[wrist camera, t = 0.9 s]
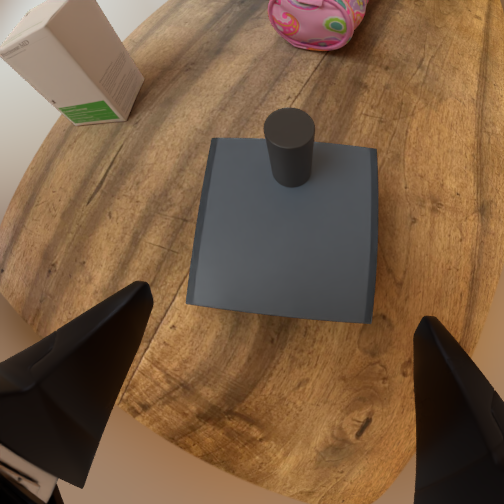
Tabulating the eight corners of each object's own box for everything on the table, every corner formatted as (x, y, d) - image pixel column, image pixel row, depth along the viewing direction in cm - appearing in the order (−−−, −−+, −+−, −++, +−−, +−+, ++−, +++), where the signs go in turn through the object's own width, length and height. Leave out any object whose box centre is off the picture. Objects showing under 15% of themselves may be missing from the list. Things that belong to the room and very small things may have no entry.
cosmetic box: (75, 127, 28) (-9, 57, 13) (95, 84, 29) (27, 9, 14) (129, 121, 27) (41, 25, 12) (149, 75, 28) (84, -22, 13)
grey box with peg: (400, 332, 10) (397, 104, 11) (146, 303, 11) (188, 94, 13) (348, 317, 21) (356, 189, 23) (217, 303, 23) (233, 180, 24)
